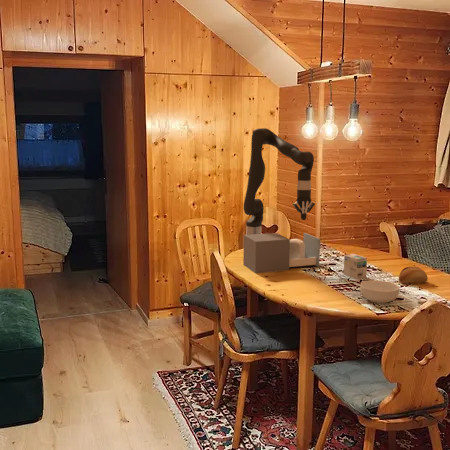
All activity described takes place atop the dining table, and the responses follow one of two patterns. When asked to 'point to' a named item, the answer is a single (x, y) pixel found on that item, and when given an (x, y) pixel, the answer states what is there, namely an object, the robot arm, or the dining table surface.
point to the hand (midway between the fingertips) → (303, 219)
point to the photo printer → (297, 249)
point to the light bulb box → (355, 266)
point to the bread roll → (413, 275)
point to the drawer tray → (308, 252)
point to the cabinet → (266, 252)
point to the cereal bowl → (379, 291)
